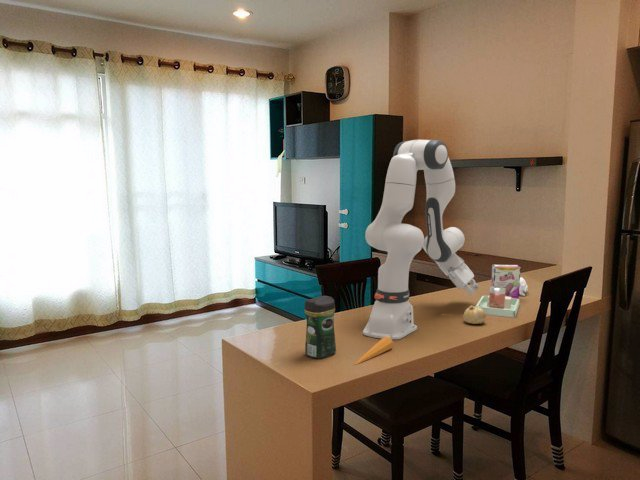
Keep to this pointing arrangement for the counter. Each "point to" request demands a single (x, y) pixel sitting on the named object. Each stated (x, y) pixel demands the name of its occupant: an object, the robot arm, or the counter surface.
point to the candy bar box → (507, 279)
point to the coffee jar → (320, 327)
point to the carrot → (377, 349)
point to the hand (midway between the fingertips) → (475, 291)
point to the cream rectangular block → (507, 302)
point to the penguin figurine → (522, 287)
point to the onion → (474, 315)
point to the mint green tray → (499, 312)
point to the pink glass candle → (497, 297)
